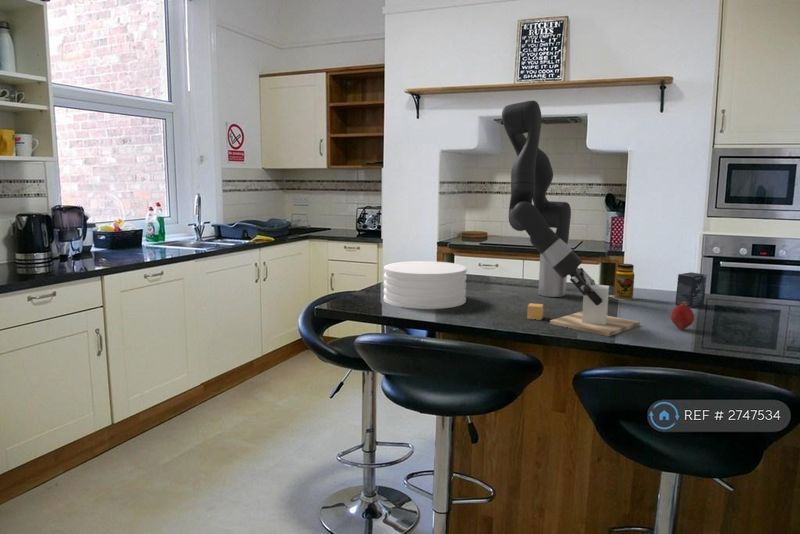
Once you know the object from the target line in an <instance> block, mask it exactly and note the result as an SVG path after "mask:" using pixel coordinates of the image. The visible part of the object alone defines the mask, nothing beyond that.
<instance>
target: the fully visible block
mask: <svg viewBox="0 0 800 534" xmlns="http://www.w3.org/2000/svg"><path fill="white" fill-rule="evenodd" d="M526 313H527V317H526V318H527V320H535V319H536V320H537V321H541V320H542V319H543V318H544V304H542V303H533V302H532V303H531V302H530V303H529V304H528V305H527V311H526Z"/></svg>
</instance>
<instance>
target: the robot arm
mask: <svg viewBox="0 0 800 534" xmlns="http://www.w3.org/2000/svg"><path fill="white" fill-rule="evenodd" d="M541 111H542V110H541V106H540V104H539V103H538V102H537V101H536V100H533V99H532V100H526V101H522V102H517V103H512V104H511V103H510V104H508V105H506V106H504V107H503V109H502V111H501V121H502V123H503V128H504V130H505V133H506V135H507V136H508V139H509V141H510V142H511V145H512V147H513V149H514V151H515V153H516V156H517V157H516V158H515V161H514V163H513V165H512V167H511V172H510V192H511V193H510V200H509V207H508V223H509V225H510V227H511V228H512V229H513V230H514V231H518V232H523V231H525V232H526V233H527V235H528V236H529V240H530V241H529V242H530V243H531V245H532V246H533V248H535V250H536V251H538V253H539V270H538V271H539V273H538V275H539V276H538V295H540V296H542V297H550V298H559V297H565V295H567V294H566V293H567V278H568V276H570V279H569V280H570V282H571V283H572V284H573V285H574V287H576V288H577V290H579V292H580V293H581V294H582V296H583V295H584V296H585V295H586V296H588V297H589V298H590V299H591V300H592V301H593V302H594V304H595V305H599V304H600V303H601V302H602V299H601V298H600V297H599V296H598V294H597V293H596V292H595V291H594V290H593V288H592V287H591V286H590V285H591V284H592V285H597V284H596V282H595V280H594V279H593V278H592V277H591V276H590V275H589V274H588V273H587V271H585V270H584V268H583V267H580V268H579V266H580V265H581V264H582V263H583V260H582V259H581V258H580V257H579V256H578V255H577V254H576V253H575V251H574V250H573V249H572V248H571V247H570V246H569V245H568V244H569V239H570V237H569V236H570V228H571V227H570V226H571V219H572V217H571V216H572V211H571V205H570V204H569V202H567V201H555V200H554V201H550V200H548V199H547V196H546V193H547V191H548V189H549V187H550V186H551V184H552V181H553V179H554V171H553V168H552V164H551V161H550V158H549V156H548V154H547V153H545V152H544V151H543V150H542V149H541V148H539V143H540V137H541V129H542V112H541ZM525 134H527V136H525ZM552 228H553V229H554V228H555V231H554V230H553V229H552Z"/></svg>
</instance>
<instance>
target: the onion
mask: <svg viewBox="0 0 800 534" xmlns="http://www.w3.org/2000/svg"><path fill="white" fill-rule="evenodd" d="M694 314H695V313H694V311H693V310H692V308H689V307H688V306H687V305H686V302H682V304H680V305H676V306H675V307H674V308H673V309H672V311H671V314H670V320H671V322H672V323H673V325H674V326H675V327H676V328H678V329H679V330H681V331H683V330H685V329H687V328H688V327H690V326H691V325H692V324H693V323H694V320H695V315H694Z"/></svg>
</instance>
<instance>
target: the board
mask: <svg viewBox="0 0 800 534" xmlns="http://www.w3.org/2000/svg"><path fill="white" fill-rule="evenodd" d="M582 311H583V310H581V311H578V312H574V313H572V314H567V315H564V316H560V317H557V318H553V319H550V320H549V325H553V326H559V327H562V326H563V328H567V327H568V329H571V328H572V330H577V331H581V332H582V331H583V332H585V333H590V334H594V335H595V334H596V335H600V336H604V337H612V336H614V335H617V334H620V333H622V332H625V331H628V330H630V329H633V328H636V327H638V326H640V325H641V324H640V323H641V322H640V321H637V320H633V319H632V320H631V319H626V318H621V317H616V316H610V315H607V322H606V325H603V324H592V323H582Z"/></svg>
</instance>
